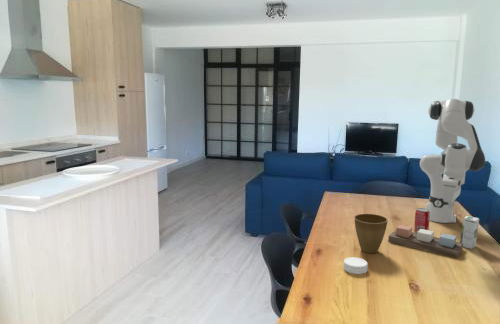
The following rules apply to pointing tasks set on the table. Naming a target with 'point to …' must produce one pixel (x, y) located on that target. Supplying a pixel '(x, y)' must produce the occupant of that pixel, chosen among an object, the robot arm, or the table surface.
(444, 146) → the robot arm
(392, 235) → the key panel
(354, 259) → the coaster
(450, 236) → the blue-grey key
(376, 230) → the plant pot
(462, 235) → the syrup box
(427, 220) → the soda can
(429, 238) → the white key
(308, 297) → the table surface
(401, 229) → the terracotta key
